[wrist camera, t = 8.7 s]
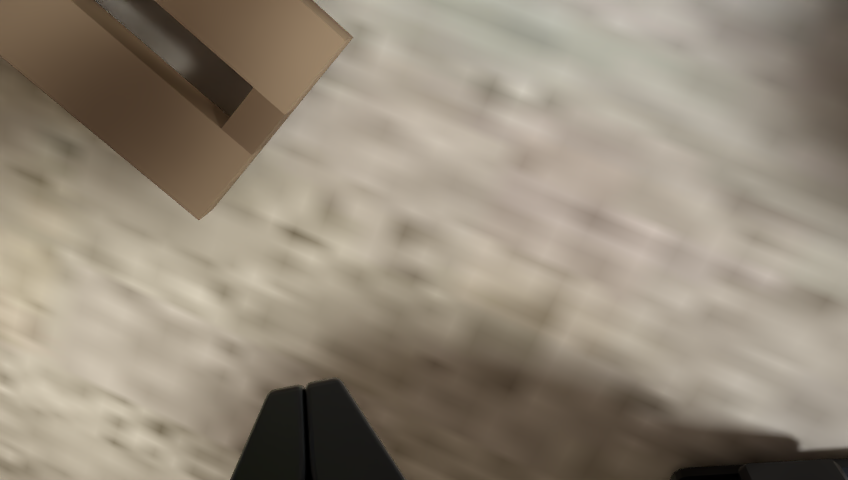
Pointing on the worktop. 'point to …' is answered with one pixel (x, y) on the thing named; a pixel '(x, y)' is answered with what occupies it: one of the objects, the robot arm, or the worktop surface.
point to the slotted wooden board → (174, 82)
